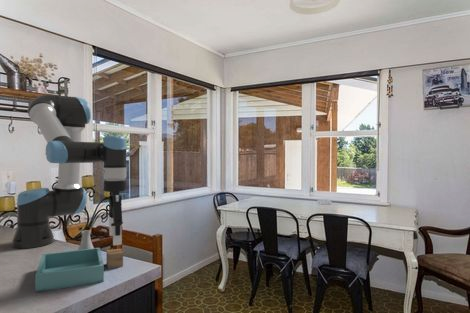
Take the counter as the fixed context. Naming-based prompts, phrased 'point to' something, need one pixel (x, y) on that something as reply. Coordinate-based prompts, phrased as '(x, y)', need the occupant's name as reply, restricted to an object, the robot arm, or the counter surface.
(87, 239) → the flask
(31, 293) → the counter surface
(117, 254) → the walnut cube
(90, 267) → the tote
